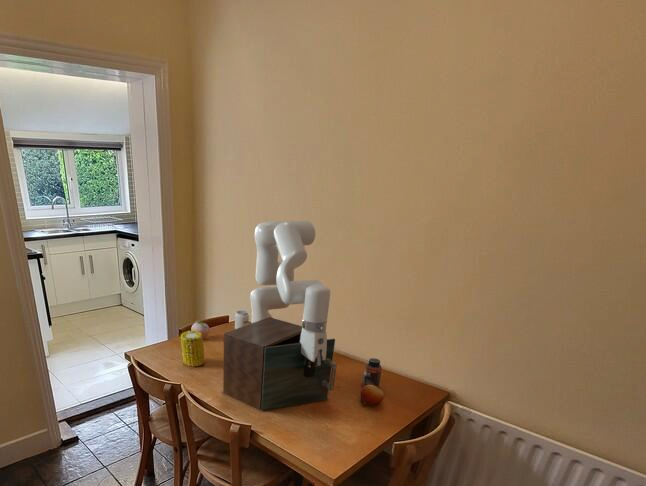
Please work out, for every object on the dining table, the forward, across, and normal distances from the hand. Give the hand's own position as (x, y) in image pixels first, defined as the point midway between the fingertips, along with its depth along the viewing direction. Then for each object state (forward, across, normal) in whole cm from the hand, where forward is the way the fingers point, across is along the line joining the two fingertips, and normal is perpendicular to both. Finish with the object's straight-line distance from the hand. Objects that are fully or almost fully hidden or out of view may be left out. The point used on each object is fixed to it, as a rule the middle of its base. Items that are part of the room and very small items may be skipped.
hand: (308, 376), depth 139 cm
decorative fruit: (+13, +76, +18) cm, 80 cm away
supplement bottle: (+13, +8, -32) cm, 36 cm away
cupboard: (+13, +18, +8) cm, 24 cm away
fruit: (+13, -3, -24) cm, 28 cm away
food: (+13, +49, +28) cm, 58 cm away
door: (+13, +1, +2) cm, 13 cm away
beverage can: (+13, +77, -5) cm, 78 cm away
